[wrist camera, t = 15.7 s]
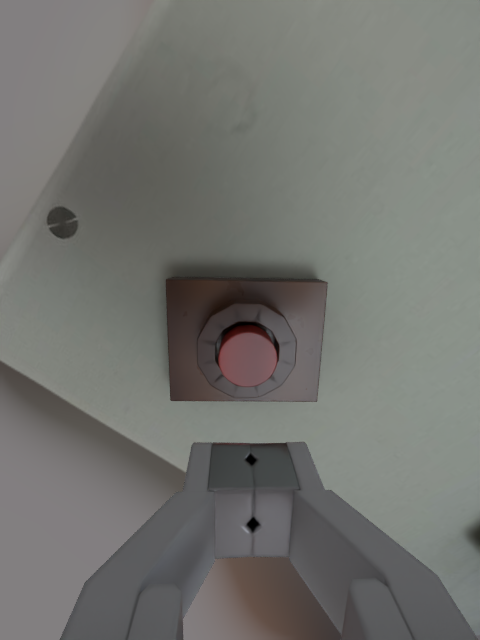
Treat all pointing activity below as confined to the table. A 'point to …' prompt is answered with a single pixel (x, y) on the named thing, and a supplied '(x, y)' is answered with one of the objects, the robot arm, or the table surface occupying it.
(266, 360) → the button
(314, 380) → the button block
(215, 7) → the table surface
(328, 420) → the table surface
